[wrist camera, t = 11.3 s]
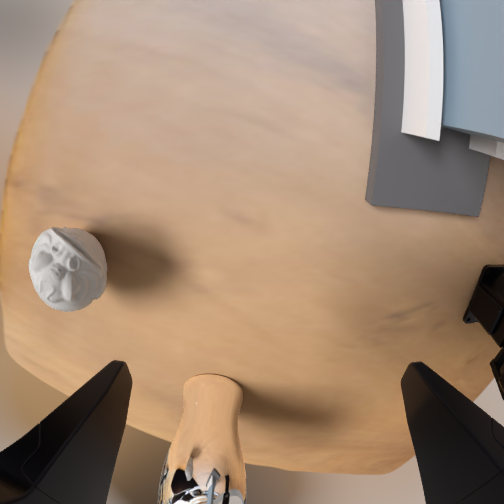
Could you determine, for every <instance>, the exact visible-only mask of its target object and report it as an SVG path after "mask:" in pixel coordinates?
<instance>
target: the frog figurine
mask: <svg viewBox="0 0 504 504" xmlns="http://www.w3.org/2000/svg"><path fill="white" fill-rule="evenodd" d="M29 271H30V275H31V278H32V282H33V285H34V287H35V290H36V292H37V293H38V295H39V297H40V298H41V299H42V300H43V301H44V302H45V303H46V304H48V305H49V306H50V307H51V308H53V309H56V310H60V311H65V312H68V311H76V310H80V309H82V308H85V307H86V306H88V305H89V304H90V303H91V302H92V300H94V299H98V298H99V297H100V296H101V295H102V294H103V292H104V290H105V287H106V283H107V275H106V273H107V261H106V258H105V254H104V250H103V248H102V246H101V244H100V243H99V241H98V240H97V239H96V238H95V237H94V236H93V235H91V234H90V233H89V232H87V231H84V230H82V229H77V228H66V227H65V228H62V229H61V228H55V227H52V228H50V229H47V230H46V231H44V232H43V233H41V235H40V236H39V237H38V239H37V241H36V242H35V244H34V247H33V250H32V254H31V258H30V261H29Z"/></svg>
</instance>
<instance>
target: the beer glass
mask: <svg viewBox="0 0 504 504" xmlns="http://www.w3.org/2000/svg"><path fill="white" fill-rule="evenodd" d="M183 397H184V408H183V415H182V418H181V422H180V425H179V427H178V430H177V432H176V435H175V437H174V439H173V442H172V444H171V447H170V449H169V452H168V454H167V457H166V460H165V463H164V466H163V470H162V474H161V479H160V486H159V494H158V504H246V473H245V465H244V459H243V454H242V448H241V443H240V437H239V431H238V417H239V412H240V408H241V404H242V400H243V391H242V389H241V387H240V386H239V385H238V384H237V383H236V382H234V381H233V380H231V379H229V378H227V377H224V376H220V375H214V374H202V375H197V376H194V377H192V378H190V379H189V380H187V381H186V383H185V384H184V387H183Z"/></svg>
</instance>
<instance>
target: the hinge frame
mask: <svg viewBox="0 0 504 504" xmlns="http://www.w3.org/2000/svg"><path fill="white" fill-rule="evenodd" d="M375 7H376V44H377V53H376V92H375V110H374V124H373V136H372V147H371V157H370V166H369V174H368V182H367V190H366V197H365V200H366V201H367V202H368V203H369V204H370V205H374V206H386V207H397V208H408V209H418V210H427V211H436V212H445V213H453V214H461V215H469V216H477V217H479V214H480V210H481V205H482V201H483V196H484V191H485V186H486V180H487V175H488V169H489V162H490V155H491V156H494V157H497V158H500V159H503V160H504V143H502V142H498V141H494V140H491V139H487V138H483V137H479V136H475V135H471V134H466V133H463V132H459V131H456V130H453V129H449V128H445V127H442V126H441V117H442V102H443V36H442V21H441V10H440V1H439V0H375Z"/></svg>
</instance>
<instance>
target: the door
mask: <svg viewBox="0 0 504 504" xmlns="http://www.w3.org/2000/svg"><path fill="white" fill-rule="evenodd" d="M439 1H440V10H441V21H442V36H443V102H442V117H441V126H442V127H445V128H449V129H453V130H456V131H459V132H463V133H466V134H471V135H475V136H479V137H483V138H487V139H491V140H494V141H498V142H502V143H504V0H439Z"/></svg>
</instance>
